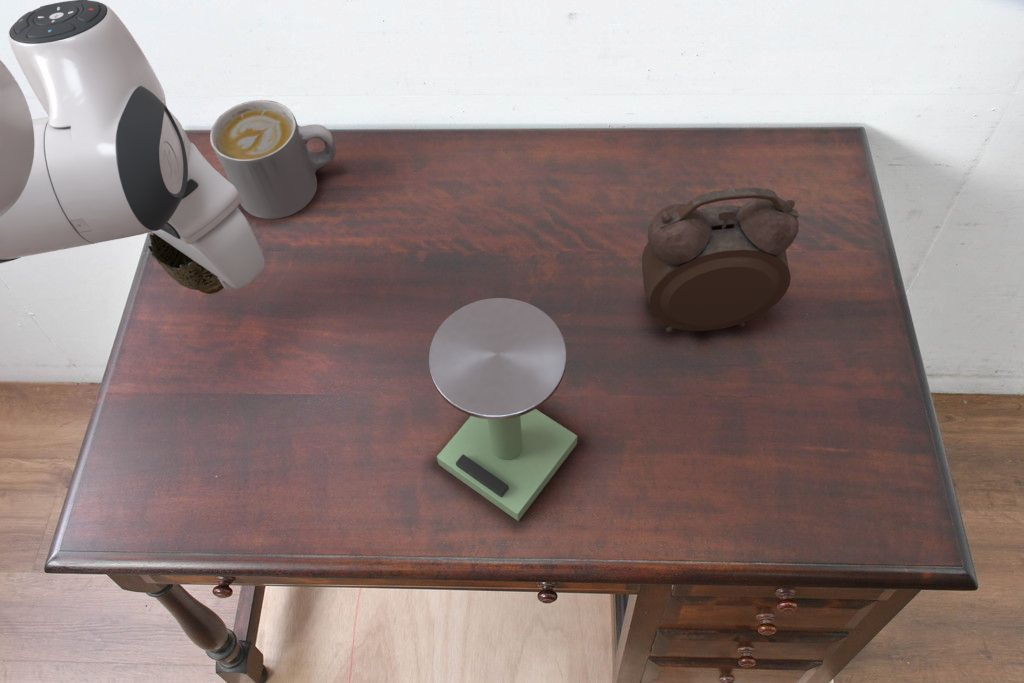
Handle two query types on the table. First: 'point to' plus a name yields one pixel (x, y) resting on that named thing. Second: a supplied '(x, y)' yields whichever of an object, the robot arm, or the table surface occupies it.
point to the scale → (508, 457)
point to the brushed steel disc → (497, 358)
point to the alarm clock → (718, 259)
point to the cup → (183, 267)
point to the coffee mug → (270, 157)
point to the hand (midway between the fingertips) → (203, 265)
